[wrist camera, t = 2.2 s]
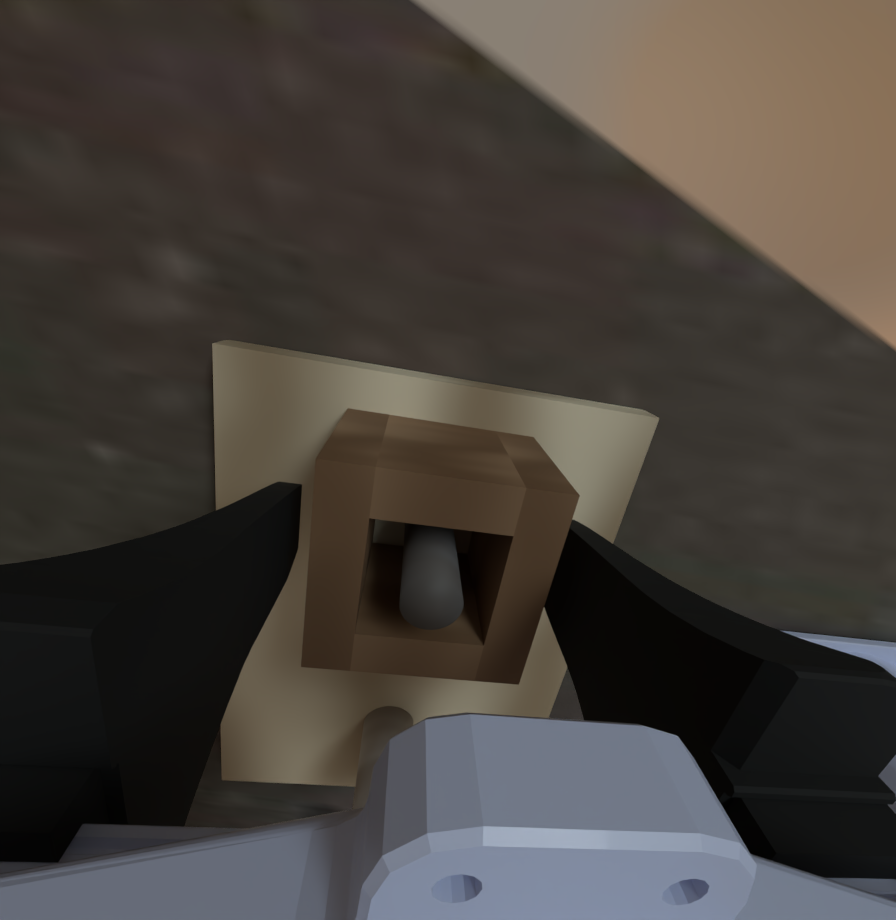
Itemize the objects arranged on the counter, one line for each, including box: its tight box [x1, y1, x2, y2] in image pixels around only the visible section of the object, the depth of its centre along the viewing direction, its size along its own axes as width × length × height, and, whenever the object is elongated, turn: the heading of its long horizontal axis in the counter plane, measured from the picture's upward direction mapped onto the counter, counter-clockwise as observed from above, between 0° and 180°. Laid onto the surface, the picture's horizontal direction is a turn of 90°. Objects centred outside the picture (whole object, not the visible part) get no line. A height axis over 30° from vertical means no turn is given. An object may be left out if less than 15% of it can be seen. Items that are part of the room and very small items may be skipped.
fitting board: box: [212, 340, 659, 809], centre depth 13 cm, size 13×18×6 cm
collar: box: [301, 408, 580, 685], centre depth 12 cm, size 6×6×4 cm
